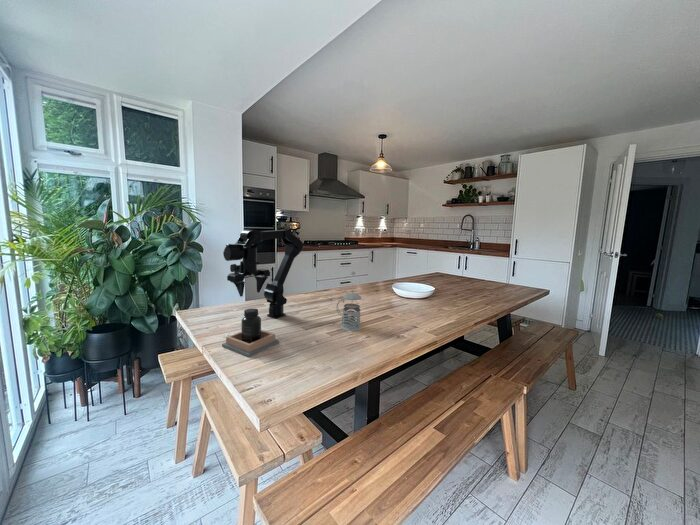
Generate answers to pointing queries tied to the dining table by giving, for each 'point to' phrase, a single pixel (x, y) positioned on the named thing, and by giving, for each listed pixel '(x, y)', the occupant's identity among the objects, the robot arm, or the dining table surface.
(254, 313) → the supplement bottle
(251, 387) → the dining table surface
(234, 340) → the dock
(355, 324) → the french press
